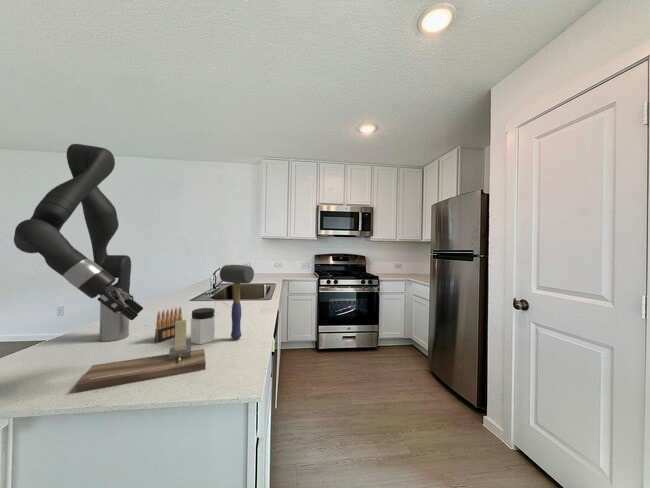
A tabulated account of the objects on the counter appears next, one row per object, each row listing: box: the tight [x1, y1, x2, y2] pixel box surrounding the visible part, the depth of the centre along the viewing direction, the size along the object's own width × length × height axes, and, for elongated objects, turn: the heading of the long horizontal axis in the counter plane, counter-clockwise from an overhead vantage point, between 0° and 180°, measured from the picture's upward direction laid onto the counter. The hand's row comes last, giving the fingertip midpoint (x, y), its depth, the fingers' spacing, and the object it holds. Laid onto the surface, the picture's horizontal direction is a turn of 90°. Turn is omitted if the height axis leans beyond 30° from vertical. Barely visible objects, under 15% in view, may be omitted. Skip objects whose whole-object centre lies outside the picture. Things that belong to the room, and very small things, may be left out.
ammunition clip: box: [154, 306, 183, 344], centre depth 107 cm, size 11×2×12 cm, turn 153°
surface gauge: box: [168, 319, 192, 361], centre depth 84 cm, size 10×6×11 cm, turn 26°
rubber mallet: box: [219, 264, 255, 341], centre depth 106 cm, size 12×8×30 cm, turn 70°
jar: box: [190, 307, 216, 345], centre depth 105 cm, size 9×8×12 cm
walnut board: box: [75, 348, 207, 393], centre depth 79 cm, size 12×30×2 cm, turn 116°
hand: (138, 314), depth 80 cm, fingers open, 8 cm apart
